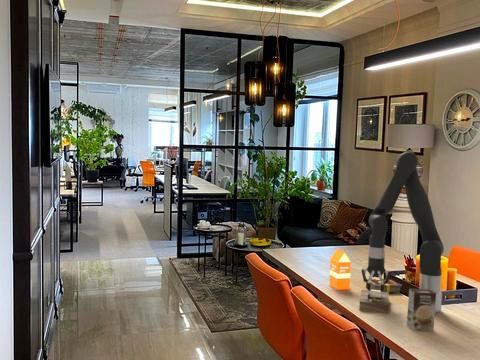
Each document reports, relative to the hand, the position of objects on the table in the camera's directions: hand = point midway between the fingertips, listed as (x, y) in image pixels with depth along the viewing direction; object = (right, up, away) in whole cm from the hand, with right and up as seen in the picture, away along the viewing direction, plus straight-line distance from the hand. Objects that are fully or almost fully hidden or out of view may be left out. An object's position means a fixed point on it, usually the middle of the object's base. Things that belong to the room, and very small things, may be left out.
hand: (375, 290), depth 227 cm
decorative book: (+12, -6, +24) cm, 27 cm away
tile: (-1, -2, -3) cm, 3 cm away
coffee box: (+11, -9, -29) cm, 32 cm away
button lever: (0, -5, +1) cm, 5 cm away
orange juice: (-11, -4, +28) cm, 30 cm away
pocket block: (-1, -7, -1) cm, 7 cm away
